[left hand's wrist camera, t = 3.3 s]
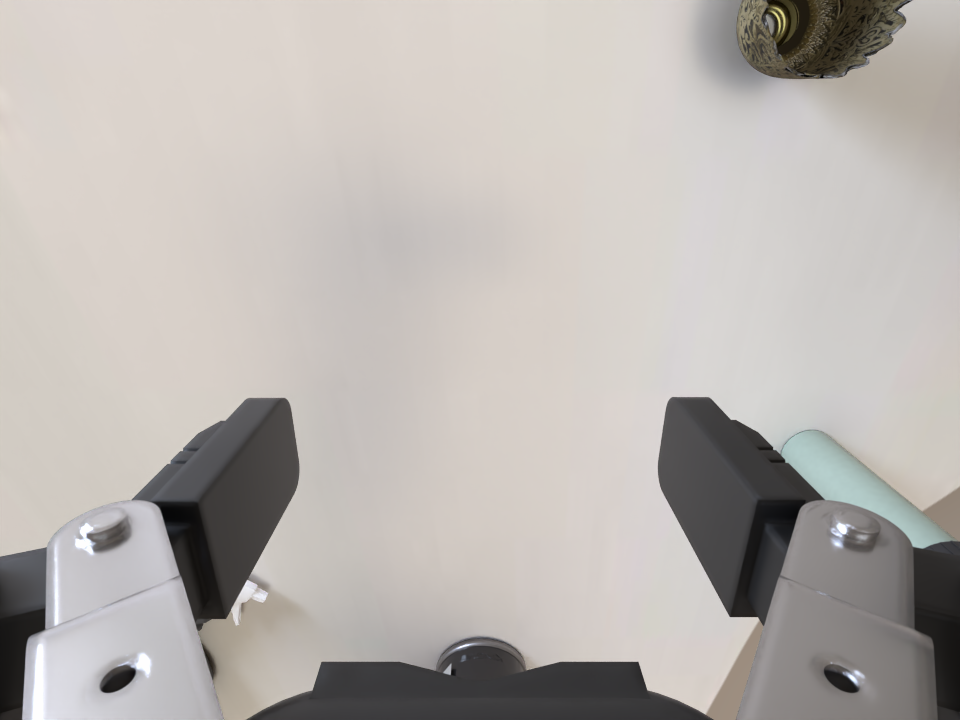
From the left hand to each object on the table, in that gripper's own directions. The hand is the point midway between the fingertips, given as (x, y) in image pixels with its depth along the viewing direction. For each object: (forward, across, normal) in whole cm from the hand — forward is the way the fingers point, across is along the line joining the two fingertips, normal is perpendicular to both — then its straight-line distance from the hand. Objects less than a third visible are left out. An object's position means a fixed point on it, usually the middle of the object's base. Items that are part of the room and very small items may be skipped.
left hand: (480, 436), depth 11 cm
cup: (+29, +18, +13) cm, 37 cm away
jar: (+29, +28, -18) cm, 45 cm away
